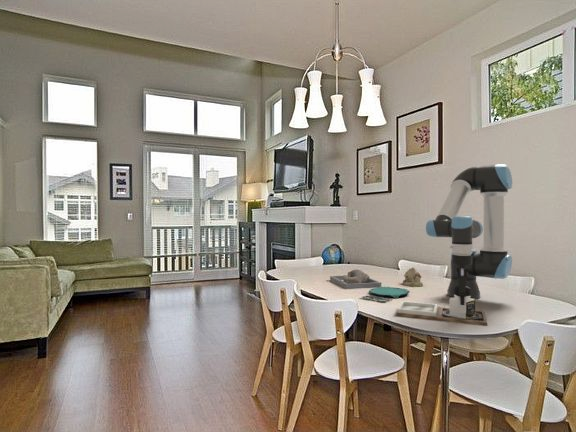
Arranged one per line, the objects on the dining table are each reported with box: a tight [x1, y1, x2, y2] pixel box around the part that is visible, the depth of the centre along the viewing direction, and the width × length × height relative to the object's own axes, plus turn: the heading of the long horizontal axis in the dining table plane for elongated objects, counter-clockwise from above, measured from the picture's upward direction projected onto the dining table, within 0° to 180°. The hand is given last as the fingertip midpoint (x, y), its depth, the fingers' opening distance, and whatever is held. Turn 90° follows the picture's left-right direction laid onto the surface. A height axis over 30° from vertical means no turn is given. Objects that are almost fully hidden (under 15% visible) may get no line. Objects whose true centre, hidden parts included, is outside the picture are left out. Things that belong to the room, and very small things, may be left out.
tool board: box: [395, 300, 488, 326], centre depth 155 cm, size 33×18×2 cm, turn 66°
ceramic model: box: [402, 267, 424, 288], centre depth 221 cm, size 14×11×10 cm
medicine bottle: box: [448, 286, 476, 319], centre depth 152 cm, size 7×7×12 cm
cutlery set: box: [358, 286, 410, 304], centre depth 192 cm, size 20×30×2 cm, turn 138°
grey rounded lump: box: [342, 269, 370, 284], centre depth 223 cm, size 16×9×15 cm
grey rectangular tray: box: [329, 274, 382, 290], centre depth 225 cm, size 21×28×2 cm
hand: (462, 309), depth 152 cm, fingers closed on medicine bottle, 9 cm apart
